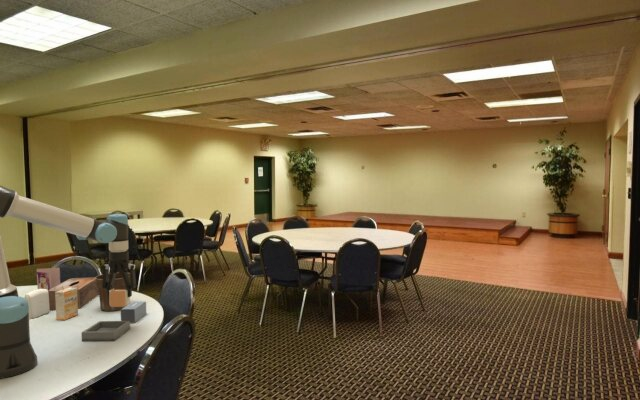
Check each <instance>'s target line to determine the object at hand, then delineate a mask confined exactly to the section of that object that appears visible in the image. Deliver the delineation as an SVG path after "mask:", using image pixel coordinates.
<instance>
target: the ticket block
mask: <svg viewBox="0 0 640 400" xmlns="http://www.w3.org/2000/svg"><path fill="white" fill-rule="evenodd" d="M146 315H147V301H145V300H144V301H143V300H142V301H140V300H139V301H132V302H130V304H128V305H127V306H126V307H124V308H122V309H121V310H120V321H130V324H135V323H136V322H138V321H139V320H140V319H142V318H143V317H145V316H146Z"/></svg>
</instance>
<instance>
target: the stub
mask: <svg viewBox="0 0 640 400" xmlns="http://www.w3.org/2000/svg"><path fill="white" fill-rule="evenodd" d="M125 306H126V305H125V290H114V291H112V292H110V307H125Z"/></svg>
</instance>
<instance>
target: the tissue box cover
mask: <svg viewBox="0 0 640 400" xmlns="http://www.w3.org/2000/svg"><path fill="white" fill-rule="evenodd" d="M95 277H96V276H95ZM95 277H94V276H93V277H73V278H69V279H66V280H65V281H63V282H60V284H59V285H57V286H56V287H54V288H52V289H50V290H48V293H49V308H50V311H54V312H55V311H56V300H55V292H57V291H60V290H63V289H67V288H77V299H78V310H80V309H82V308H84V307H85V306H86V305H88V302H89V301H90V302H91V301H93V300H94V299H95V298H96V297H99V291H98V286H97V282H96V279H95ZM92 299H93V300H92ZM90 302H89V303H90ZM84 305H85V306H84Z"/></svg>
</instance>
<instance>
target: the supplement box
mask: <svg viewBox="0 0 640 400" xmlns="http://www.w3.org/2000/svg"><path fill="white" fill-rule="evenodd" d="M55 300H56V310H55V319H56V320H57V321H66V320H69V319H71V318H73V317H75V316H78V315H79V309H78V299H77V288H67V289H63V290H60V291H57V292H55Z"/></svg>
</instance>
